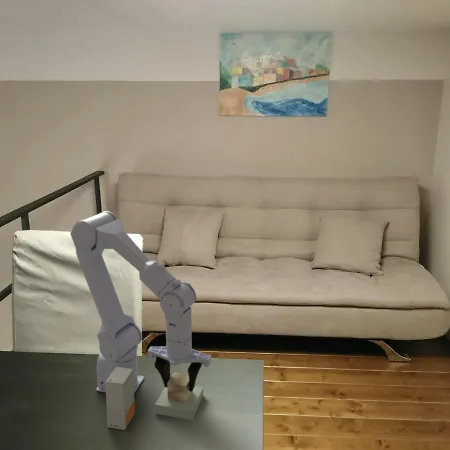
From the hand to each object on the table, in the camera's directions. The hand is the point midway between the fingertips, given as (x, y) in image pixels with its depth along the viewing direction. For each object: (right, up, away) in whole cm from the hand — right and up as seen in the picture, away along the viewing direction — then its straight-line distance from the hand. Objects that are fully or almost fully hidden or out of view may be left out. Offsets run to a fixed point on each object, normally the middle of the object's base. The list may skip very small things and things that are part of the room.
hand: (179, 387), depth 118 cm
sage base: (0, -5, +2) cm, 5 cm away
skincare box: (-13, -6, -4) cm, 15 cm away
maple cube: (0, -2, +1) cm, 2 cm away
